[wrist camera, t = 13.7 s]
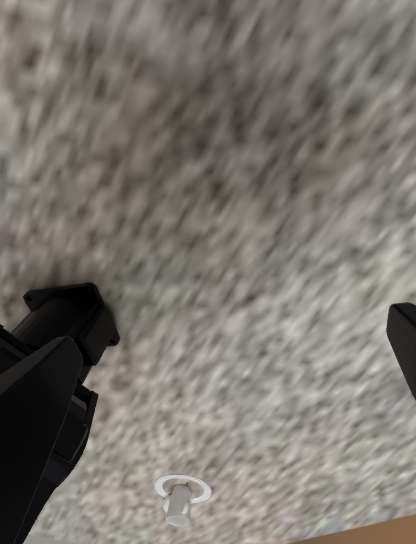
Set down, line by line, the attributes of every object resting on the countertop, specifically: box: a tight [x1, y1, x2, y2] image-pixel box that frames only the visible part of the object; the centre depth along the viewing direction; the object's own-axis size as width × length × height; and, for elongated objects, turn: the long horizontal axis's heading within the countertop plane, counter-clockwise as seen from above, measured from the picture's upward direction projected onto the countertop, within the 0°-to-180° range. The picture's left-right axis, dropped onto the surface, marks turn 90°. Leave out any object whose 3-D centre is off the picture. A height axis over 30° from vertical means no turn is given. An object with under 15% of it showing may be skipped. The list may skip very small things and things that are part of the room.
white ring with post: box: [154, 474, 211, 527], centre depth 39 cm, size 9×8×4 cm
